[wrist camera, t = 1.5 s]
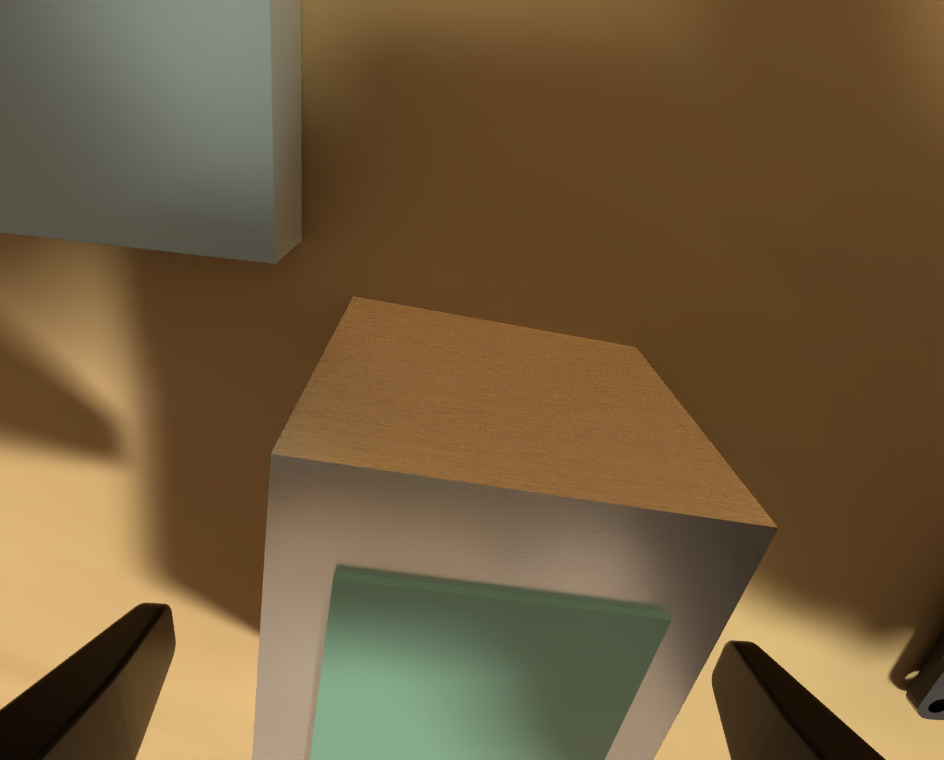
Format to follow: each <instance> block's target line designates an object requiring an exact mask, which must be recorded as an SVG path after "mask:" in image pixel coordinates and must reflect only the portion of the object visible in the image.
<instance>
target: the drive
mask: <svg viewBox="0 0 944 760" xmlns="http://www.w3.org/2000/svg"><path fill="white" fill-rule="evenodd" d="M777 529H778V527H777V526H776V524H775V523H774V522H773V521H772V519H771V518H770V517H769V515H768V514H767V513H766V512H765V510H764V509H763V508H762V507H761V505H760V504H759V503H758V501H757V500H756V499H755V498H754V496H753V495H752V494H751V493H750V491H749V490H748V489H747V487H746V486H745V485H744V484H743V482H742V481H741V480H740V479H739V477H738V476H737V475H736V473H735V472H734V471H733V470H732V468H731V467H730V466H729V465H728V463H727V462H726V461H725V459H724V458H723V457H722V456H721V454H720V453H719V452H718V451H717V449H716V448H715V447H714V445H713V444H712V443H711V442H710V440H709V439H708V438H707V437H706V435H705V434H704V433H703V431H702V430H701V429H700V428H699V426H698V425H697V424H696V423H695V421H694V420H693V419H692V417H691V416H690V415H689V414H688V412H687V411H686V410H685V409H684V407H683V406H682V405H681V403H680V402H679V401H678V400H677V398H676V397H675V396H674V395H673V393H672V392H671V391H670V389H669V388H668V387H667V386H666V384H665V383H664V382H663V381H662V379H661V378H660V377H659V375H658V374H657V373H656V372H655V370H654V369H653V368H652V367H651V365H650V364H649V363H648V361H647V360H646V359H645V358H644V356H643V355H642V354H641V353H640V351H639V350H638V349H637V347H633V346H627V345H622V344H616V343H611V342H605V341H600V340H594V339H589V338H583V337H578V336H572V335H566V334H561V333H555V332H550V331H544V330H539V329H533V328H528V327H522V326H517V325H511V324H506V323H500V322H494V321H489V320H483V319H478V318H472V317H467V316H461V315H456V314H450V313H445V312H439V311H434V310H428V309H422V308H417V307H411V306H406V305H400V304H395V303H389V302H384V301H378V300H373V299H367V298H362V297H356V296H353V297H352V299H351V301H350V303H349V305H348V307H347V309H346V311H345V313H344V315H343V317H342V318H341V320H340V322H339V324H338V326H337V328H336V330H335V332H334V334H333V336H332V338H331V339H330V341H329V343H328V345H327V347H326V349H325V351H324V353H323V355H322V357H321V359H320V360H319V362H318V364H317V366H316V368H315V370H314V372H313V374H312V376H311V378H310V380H309V381H308V383H307V385H306V387H305V389H304V391H303V393H302V395H301V397H300V399H299V401H298V403H297V404H296V406H295V408H294V410H293V412H292V414H291V416H290V418H289V420H288V422H287V424H286V425H285V427H284V429H283V431H282V433H281V435H280V437H279V439H278V441H277V443H276V445H275V446H274V448H273V450H272V452H271V456H270V473H269V489H268V506H267V522H266V539H265V556H264V572H263V589H262V606H261V622H260V639H259V656H258V672H257V689H256V706H255V722H254V739H253V756H252V760H653V759H654V757H655V755H656V753H657V752H658V750H659V748H660V746H661V744H662V742H663V741H664V739H665V737H666V735H667V733H668V731H669V729H670V728H671V726H672V724H673V722H674V720H675V718H676V716H677V715H678V713H679V711H680V709H681V707H682V705H683V703H684V702H685V700H686V698H687V696H688V694H689V692H690V690H691V689H692V687H693V685H694V683H695V681H696V679H697V678H698V676H699V674H700V672H701V670H702V668H703V666H704V665H705V663H706V661H707V659H708V657H709V655H710V653H711V652H712V650H713V648H714V646H715V644H716V642H717V640H718V639H719V637H720V635H721V633H722V631H723V629H724V627H725V626H726V624H727V622H728V620H729V618H730V616H731V615H732V613H733V611H734V609H735V607H736V605H737V603H738V602H739V600H740V598H741V596H742V594H743V592H744V590H745V589H746V587H747V585H748V583H749V581H750V579H751V577H752V576H753V574H754V572H755V570H756V568H757V566H758V564H759V563H760V561H761V559H762V557H763V555H764V553H765V552H766V550H767V548H768V546H769V544H770V542H771V540H772V539H773V537H774V535H775V533H776V531H777Z"/></svg>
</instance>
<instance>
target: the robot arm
mask: <svg viewBox="0 0 944 760" xmlns="http://www.w3.org/2000/svg"><path fill="white" fill-rule="evenodd" d="M175 645H176V640H175V632H174V625H173V617H172V611H171V608H170V606H169V605H167V604H159V603H142V604H139V605H137V606H136V607H134V608H133V609H132V610H130V611H129V612H128V613H127V614H125V615H124V616H123V617H121V618H120V619H119V620H117V621H116V622H115V623H113V624H112V625H111V626H109V627H108V628H107V629H106V630H104V631H103V632H102V633H100V634H99V635H98V636H96V637H95V638H94V639H92V640H91V641H90V642H88V643H87V644H86V645H85V646H83V647H82V648H81V649H79V650H78V651H77V652H75V653H74V654H73V655H71V656H70V657H69V658H67V659H66V660H65V661H64V662H62V663H61V664H60V665H58V666H57V667H56V668H54V669H53V670H52V671H50V672H49V673H48V674H46V675H45V676H44V677H43V678H41V679H40V680H39V681H37V682H36V683H35V684H33V685H32V686H31V687H29V688H28V689H27V690H25V691H24V692H23V693H22V694H20V695H19V696H18V697H16V698H15V699H14V700H12V701H11V702H10V703H8V704H7V705H6V706H4V707H3V708H2V709H1V710H0V760H135V759H136V756H137V754H138V751H139V749H140V746H141V744H142V741H143V738H144V735H145V733H146V730H147V727H148V724H149V722H150V719H151V716H152V713H153V711H154V708H155V705H156V702H157V700H158V697H159V694H160V691H161V689H162V686H163V683H164V681H165V678H166V675H167V672H168V670H169V667H170V664H171V661H172V659H173V655H174V651H175ZM712 687H713V692H714V696H715V699H716V703H717V707H718V711H719V715H720V719H721V722H722V726H723V730H724V734H725V738H726V741H727V745H728V749H729V753H730V757H731V760H885V759H884V758H883V757H882V756H881V755H880V754H879V753H877V752H876V751H875V750H874V749H873V748H872V747H871V746H870V745H868V744H867V743H866V742H865V741H864V740H863V739H862V738H861V737H860V736H858V735H857V734H856V733H855V732H854V731H853V730H852V729H851V728H849V727H848V726H847V725H846V724H845V723H844V722H843V721H842V720H841V719H839V718H838V717H837V716H836V715H835V714H834V713H833V712H832V711H830V710H829V709H828V708H827V707H826V706H825V705H824V704H823V703H821V702H820V701H819V700H818V699H817V698H816V697H815V696H814V695H813V694H811V693H810V692H809V691H808V690H807V689H806V688H805V687H804V686H802V685H801V684H800V683H799V682H798V681H797V680H796V679H795V678H793V677H792V676H791V675H790V674H789V673H788V672H787V671H786V670H785V669H783V668H782V667H781V666H780V665H779V664H778V663H777V662H776V661H774V660H773V659H772V658H771V657H770V656H769V655H768V654H767V653H765V652H764V651H763V650H762V649H761V648H760V647H759V646H757V645H756V644H754V643H752V642H748V641H733V640H732V641H729V642H727V643H726V644H725V646H724V648H723V650H722V653H721V655H720V657H719V659H718V661H717V664H716V666H715V668H714V670H713V674H712ZM906 698H907V700H908V701H909V703H910V704H911V705H912V707H913V708H914V709H915V710H916V712H917V713H918V714H919V715H920V716H921V717H922V718H926V719H933V720H944V637H943V639H942V640H941V641H940V643H939V644H938V646H937V647H936V649H935V650H934V652H933V653H932V655H931V656H930V658H929V659H928V661H927V662H926V664H925V665H924V667H923V668H922V669H921V671H920V672H919V674H918V675H917V677H916V678H915V680H914V681H913V683H912V684H911V686H910V687H909V689H908V690H907V693H906Z"/></svg>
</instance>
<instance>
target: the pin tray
mask: <svg viewBox="0 0 944 760" xmlns="http://www.w3.org/2000/svg"><path fill="white" fill-rule="evenodd" d="M0 233H8V234H17V235H26V236H34V237H43V238H52V239H61V240H69V241H78V242H87V243H96V244H104V245H113V246H122V247H131V248H139V249H148V250H157V251H165V252H174V253H183V254H192V255H200V256H209V257H218V258H227V259H235V260H244V261H253V262H262V263H270V264H276V263H277V262H278V261H279V260H281V259H282V258H283V257H284V256H285V255H286V254H287V253H289V252H290V251H291V250H292V249H293V248H294V247H295V246H296V245H298V244H299V243H300V242H301V241H302V24H301V0H0Z"/></svg>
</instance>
